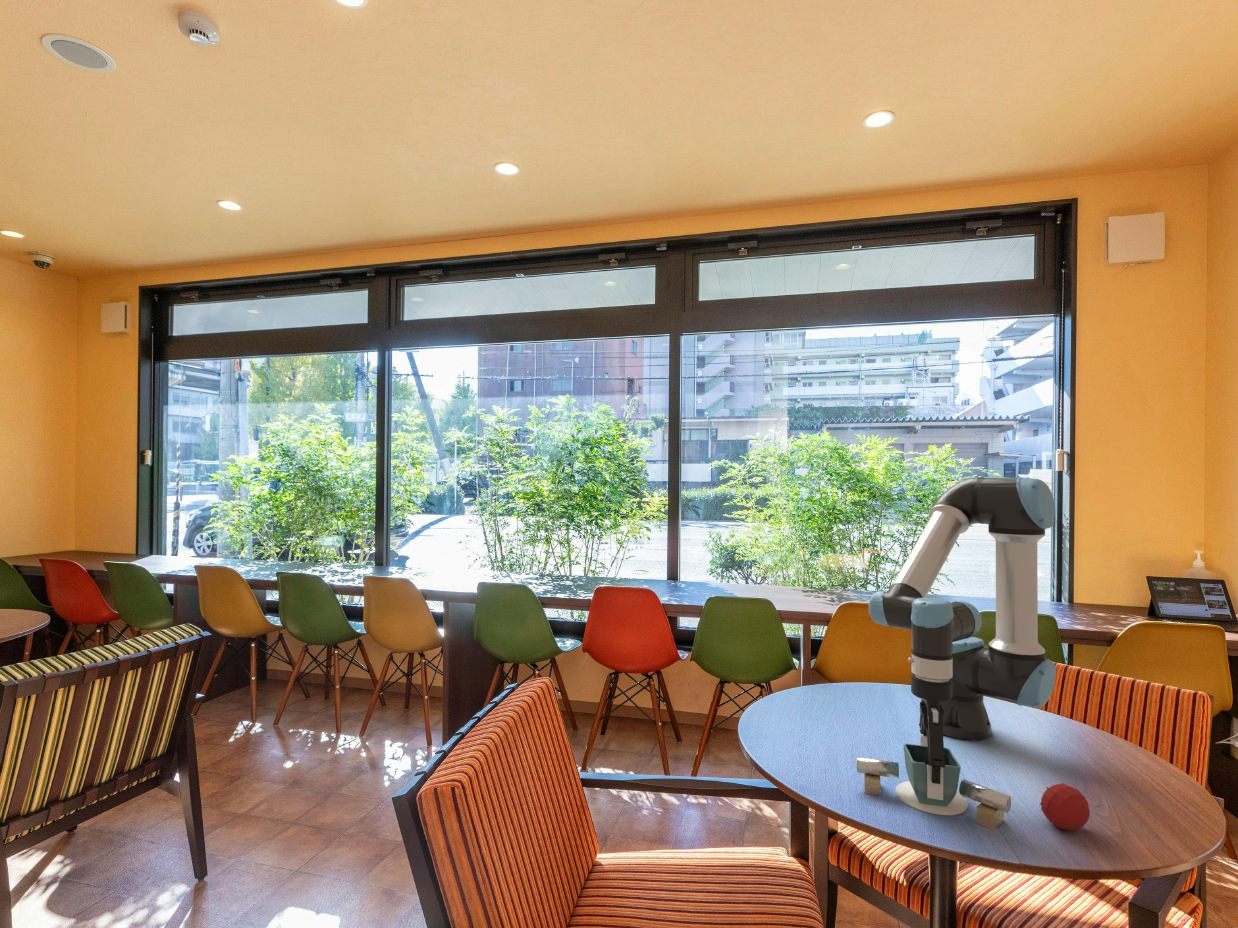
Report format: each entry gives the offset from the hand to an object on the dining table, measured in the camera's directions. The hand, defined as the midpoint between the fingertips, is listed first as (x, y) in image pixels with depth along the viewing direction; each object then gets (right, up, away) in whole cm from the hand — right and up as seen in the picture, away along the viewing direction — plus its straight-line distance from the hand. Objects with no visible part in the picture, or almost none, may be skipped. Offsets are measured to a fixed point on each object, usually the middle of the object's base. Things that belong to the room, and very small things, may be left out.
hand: (931, 782), depth 129 cm
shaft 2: (+6, -3, -8) cm, 11 cm away
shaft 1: (-9, -3, +3) cm, 10 cm away
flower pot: (-1, -3, -1) cm, 3 cm away
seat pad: (0, -3, 0) cm, 3 cm away
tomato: (+20, -3, -10) cm, 22 cm away
